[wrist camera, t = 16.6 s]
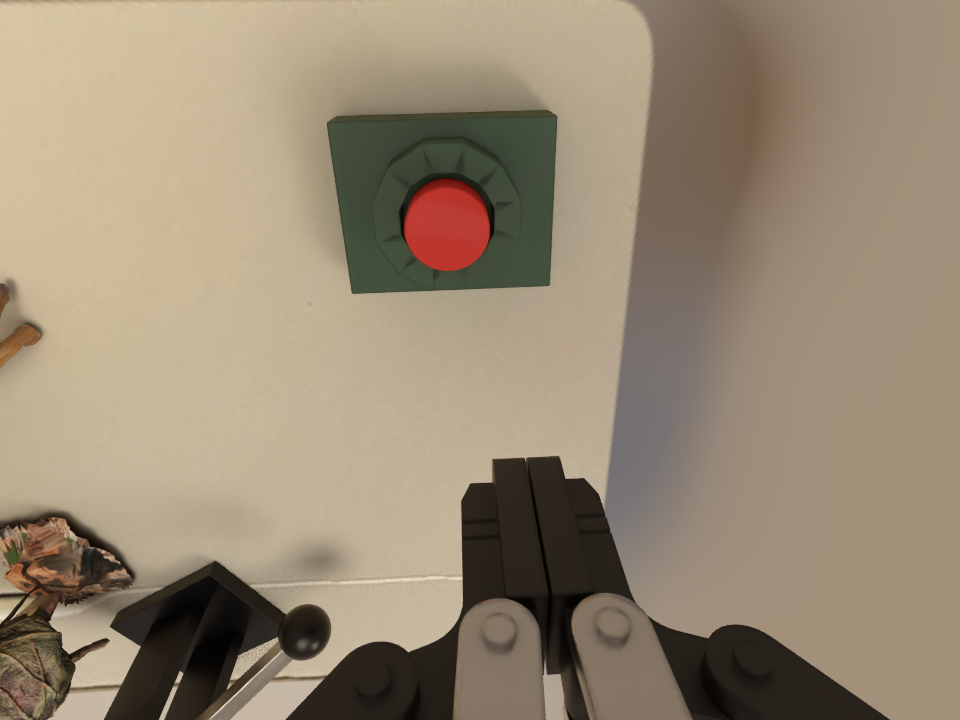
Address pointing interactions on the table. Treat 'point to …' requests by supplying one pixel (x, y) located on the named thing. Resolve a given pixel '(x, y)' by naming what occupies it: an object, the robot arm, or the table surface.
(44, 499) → the table surface
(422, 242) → the button
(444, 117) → the button block
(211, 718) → the lever
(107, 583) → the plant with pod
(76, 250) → the table surface
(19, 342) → the lion figurine
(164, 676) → the bracket
